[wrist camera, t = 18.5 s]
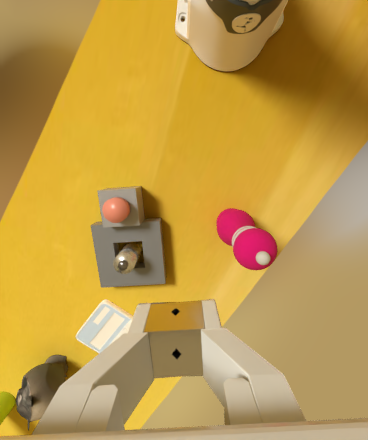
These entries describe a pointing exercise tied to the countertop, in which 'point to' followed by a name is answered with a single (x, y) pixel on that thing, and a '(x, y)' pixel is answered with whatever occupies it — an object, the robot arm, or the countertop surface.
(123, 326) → the calculator
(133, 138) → the countertop surface
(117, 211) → the plunger
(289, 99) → the countertop surface
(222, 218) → the pepper mill
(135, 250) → the cell
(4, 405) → the soap dispenser
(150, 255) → the grey stepped block frame
